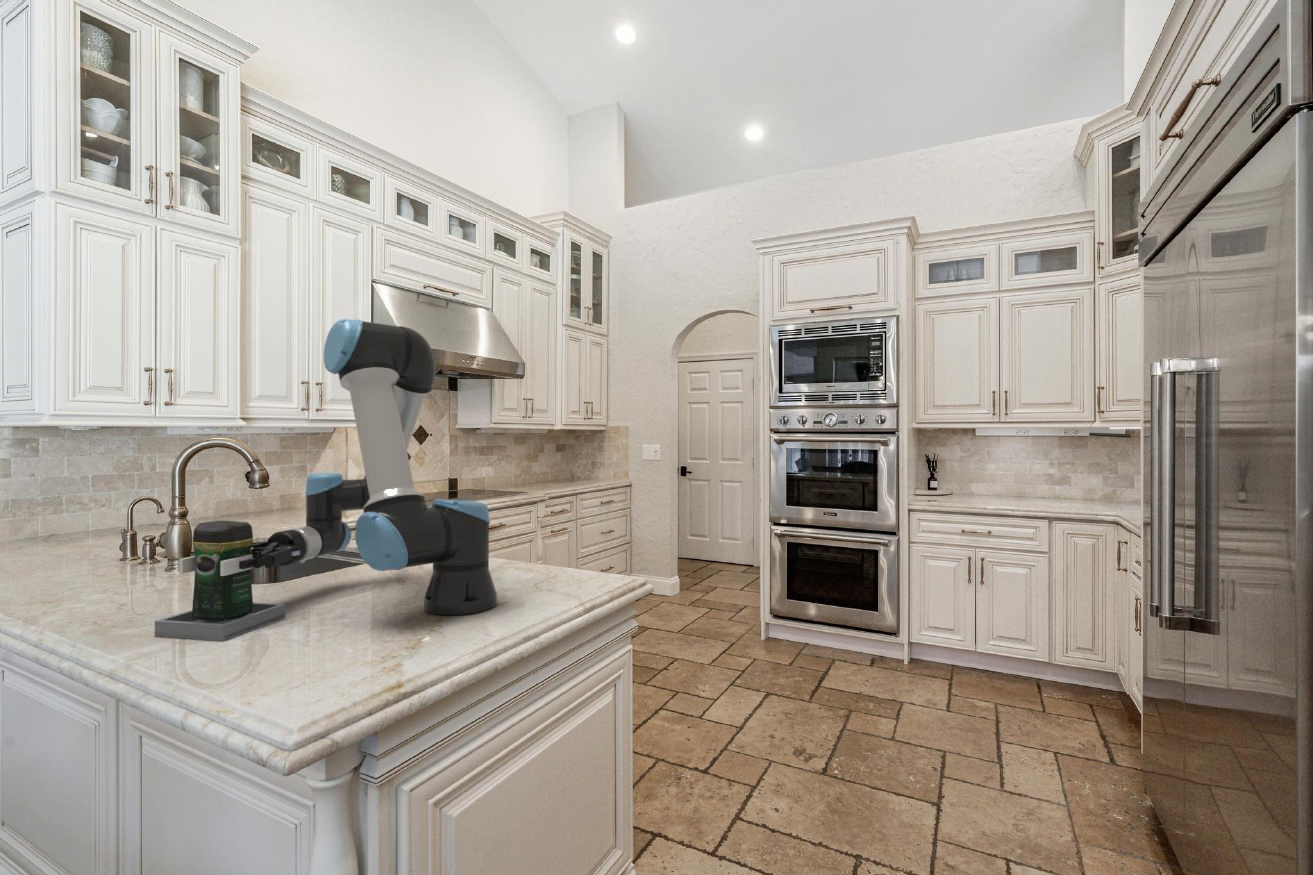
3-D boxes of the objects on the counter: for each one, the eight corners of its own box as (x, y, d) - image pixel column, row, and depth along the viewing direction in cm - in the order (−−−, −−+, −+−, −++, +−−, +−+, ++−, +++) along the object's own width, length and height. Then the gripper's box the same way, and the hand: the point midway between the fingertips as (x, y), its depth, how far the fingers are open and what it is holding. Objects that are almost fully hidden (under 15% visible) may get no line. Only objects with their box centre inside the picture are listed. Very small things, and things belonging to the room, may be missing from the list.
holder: (285, 617, 126) (285, 604, 126) (223, 641, 111) (223, 625, 111) (223, 614, 128) (223, 600, 128) (154, 636, 114) (154, 621, 114)
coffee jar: (261, 612, 123) (261, 519, 123) (225, 624, 115) (225, 524, 115) (221, 609, 125) (221, 517, 125) (183, 620, 117) (183, 522, 117)
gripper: (335, 565, 136) (250, 590, 113) (251, 560, 140) (153, 584, 117) (335, 530, 136) (250, 549, 113) (251, 527, 139) (153, 545, 117)
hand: (201, 567), depth 115 cm, fingers closed on coffee jar, 8 cm apart
